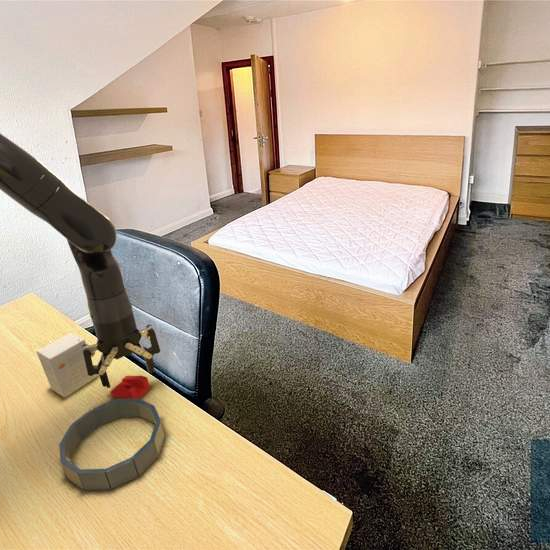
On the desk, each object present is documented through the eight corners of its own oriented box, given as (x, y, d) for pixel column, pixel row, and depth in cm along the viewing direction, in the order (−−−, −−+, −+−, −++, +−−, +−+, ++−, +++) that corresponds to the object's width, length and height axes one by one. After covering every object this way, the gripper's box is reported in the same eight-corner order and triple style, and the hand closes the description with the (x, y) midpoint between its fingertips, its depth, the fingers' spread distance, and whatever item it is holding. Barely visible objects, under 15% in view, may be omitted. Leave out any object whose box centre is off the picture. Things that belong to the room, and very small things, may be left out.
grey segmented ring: (70, 508, 64) (63, 491, 62) (63, 437, 77) (57, 421, 75) (174, 460, 71) (170, 443, 69) (151, 402, 84) (147, 387, 82)
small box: (83, 369, 95) (71, 331, 91) (97, 377, 92) (85, 338, 88) (50, 389, 90) (35, 350, 85) (64, 399, 87) (49, 358, 82)
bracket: (150, 388, 88) (147, 377, 86) (134, 403, 84) (131, 392, 83) (127, 381, 90) (124, 370, 89) (111, 395, 87) (107, 384, 85)
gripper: (144, 294, 85) (158, 357, 92) (70, 314, 79) (91, 380, 86) (153, 309, 79) (167, 376, 86) (73, 332, 73) (96, 402, 80)
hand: (129, 378), depth 86 cm, fingers open, 8 cm apart
